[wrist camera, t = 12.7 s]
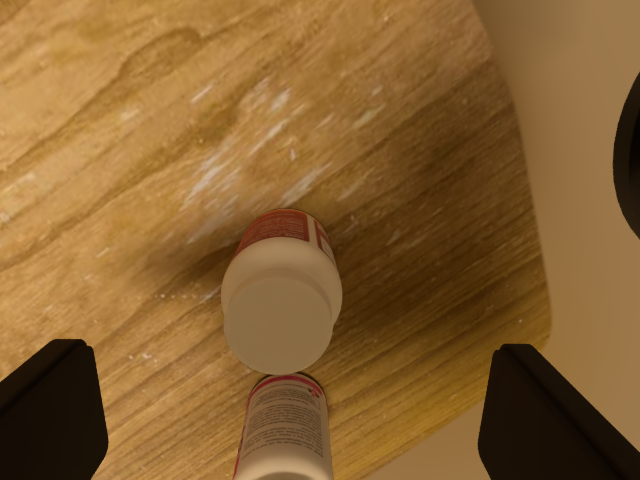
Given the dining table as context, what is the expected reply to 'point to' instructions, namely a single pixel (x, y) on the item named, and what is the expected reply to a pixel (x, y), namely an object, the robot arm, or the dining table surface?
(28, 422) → the robot arm
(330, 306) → the pill bottle
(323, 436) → the pill bottle
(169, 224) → the dining table surface
